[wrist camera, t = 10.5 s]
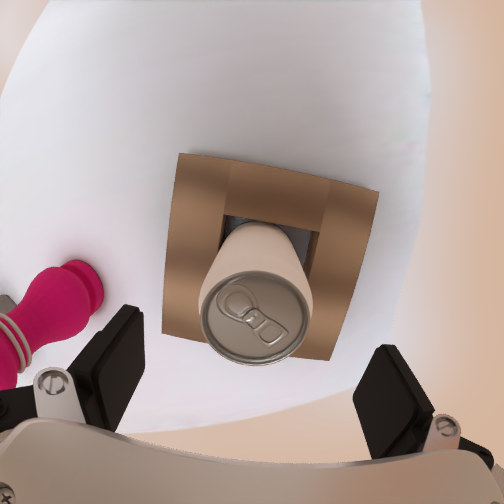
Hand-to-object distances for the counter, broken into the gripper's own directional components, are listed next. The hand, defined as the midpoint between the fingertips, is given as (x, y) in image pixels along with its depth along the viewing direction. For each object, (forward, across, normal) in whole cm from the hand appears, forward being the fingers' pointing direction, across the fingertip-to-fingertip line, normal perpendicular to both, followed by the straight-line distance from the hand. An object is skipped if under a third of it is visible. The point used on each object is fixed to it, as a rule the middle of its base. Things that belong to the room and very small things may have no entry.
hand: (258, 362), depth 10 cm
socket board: (+16, -1, +1) cm, 16 cm away
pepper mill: (+16, +18, +8) cm, 26 cm away
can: (+16, 0, +1) cm, 16 cm away
